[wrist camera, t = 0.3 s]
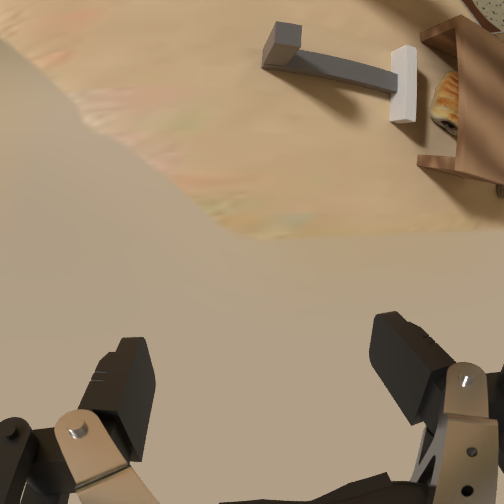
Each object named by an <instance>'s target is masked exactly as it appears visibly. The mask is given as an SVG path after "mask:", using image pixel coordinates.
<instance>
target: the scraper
mask: <svg viewBox="0 0 504 504" xmlns="http://www.w3.org/2000/svg"><path fill="white" fill-rule="evenodd" d="M301 33H302V26H301V25H296V24H290V23H284V22H277V21H276V23H275V25H274V27H273V29H272V31H271V33H270V36H269V38H268V40H267V42H266V44H265V46H264V49H263V56H262V67H261V68H263V69H271V70H279V71H286V72H293V73H299V74H305V75H311V76H316V77H322V78H327V79H332V80H336V81H341V82H346V83H350V84H354V85H358V86H362V87H366V88H370V89H374V90H378V91H382V92H385V93H389V94H391V97H390V117H389V121H390V122H394V123H398V124H401V123H410V122H416V101H417V50H416V48H415V47H412V46H410V45H407V44H406V45H404V46H402V47H400V48H398V49H396V50H394V51H392V52H391V72H390V71H386V70H383V69H380V68H376V67H373V66H369V65H366V64H362V63H358V62H354V61H350V60H346V59H342V58H338V57H333V56H329V55H324V54H319V53H314V52H309V51H303V50H299V48H300V47H301Z"/></svg>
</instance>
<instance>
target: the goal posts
mask: <svg viewBox="0 0 504 504" xmlns="http://www.w3.org/2000/svg"><path fill="white" fill-rule="evenodd" d="M496 192H497V195H498V196H499V197H500V198H504V185H499V184H497V187H496Z"/></svg>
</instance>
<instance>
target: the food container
mask: <svg viewBox="0 0 504 504" xmlns="http://www.w3.org/2000/svg"><path fill="white" fill-rule="evenodd" d="M460 1H461V2H462V3H463V4H464V6H465V7H466V8H467V10H468V11H469V12H470V14H471V15H472V16H473V18H474V19H475V21H476V22H477V23H478V25H479V26H481V27H482V28H484V29H485V30H487V31H488V32H490V33H492V34H498V33H504V0H460Z"/></svg>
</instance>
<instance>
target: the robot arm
mask: <svg viewBox="0 0 504 504" xmlns="http://www.w3.org/2000/svg"><path fill="white" fill-rule="evenodd" d="M369 357H370V362H371V365H372V366H373V368H374V369H375V371H376V373H377V374H378V376H379V377H380V378H381V380H382V381H383V383H384V385H385V386H386V388H387V389H388V391H389V392H390V394H391V395H392V397H393V398H394V400H395V401H396V403H397V404H398V406H399V407H400V409H401V411H402V412H403V414H404V415H405V417H406V418H407V420H408V421H409V423H410V424H411V426H412V425H415V424H417V423H420V422H423V421H424V423H425V424H426V426H425V428H424V431H423V435H422V439H421V444H420V448H419V453H418V457H417V461H416V464H415V468H414V472H413V474H412V477H411V480H410V481H391V480H390V478H389V476H388V474H387V472H385V473H382V474H379V475H376V476H372V477H369V478H366V479H362V480H359V481H355V482H351V483H348V484H347V485H345V486H342V487H340V488H338V489H336V490H334V491H332V492H330V493H328V494H326V495H323V496H321V497H319V498H317V499H314V500H312V501H305V502H304V501H280V500H264V499H261V500H252V501H239V502H226V503H225V502H224V503H219V504H495V501H496V491H497V478H498V465H499V467H500V468H501V470H502V471H503V473H504V365H503V367H502V370H501V372H496V373H488V374H485V373H484V371H483V370H482V369H481V368H480V367H478V366H477V365H474V364H472V363H467V362H459V363H456V362H455V361H454V360H453V359H452V358H451V357H450V356H449V355H448V354H447V353H446V352H445V351H444V350H443V349H442V348H441V347H440V346H439V345H438V344H437V343H435V341H434V340H433V339H432V338H431V337H429V335H428V334H427V333H426V332H425V331H424V330H423V329H422V328H421V327H419V326H417V325H415V324H413V323H411V322H407V321H406V320H405V319H404V318H403V317H402V316H401V315H400V314H399V313H398V312H396V311H393V312H387V313H382V314H377V315H376V316H375V318H374V323H373V330H372V336H371V343H370V348H369ZM155 384H156V383H155V374H154V370H153V367H152V363H151V359H150V355H149V351H148V347H147V344H146V341H145V339H144V337H131V338H122V339H121V341H120V343H119V345H118V348H117V350H116V352H109V353H108V354H107V355H105V356H104V357H103V358H102V359H101V360H100V361H99V363H98V365H97V367H96V370H95V373H94V374H93V376H92V378H91V381H90V382H89V385H88V387H87V389H86V391H85V393H84V396H83V398H82V400H81V402H80V405H79V407H78V409H77V410H74V411H70V412H68V413H66V414H64V415H63V416H62V417H60V418H59V420H58V421H57V423H56V425H55V427H53V428H46V429H37V430H32V429H31V427H30V426H29V424H28V423H27V422H26V421H25V420H24V419H22V418H19V417H12V418H8V419H5V420H3V421H2V422H0V504H68V498H69V494H70V493H77V495H78V497H79V499H80V501H81V503H82V504H160V503H159V502H158V501H157V499H156V498H155V497H154V496H153V495H152V493H151V492H150V491H149V489H148V488H147V487H146V485H145V484H144V483H143V481H142V480H141V479H140V477H139V476H138V475H137V473H136V472H135V471H134V470H133V468H132V467H131V465H130V464H129V463H130V461H134V462H142V457H143V451H144V445H145V440H146V434H147V429H148V423H149V418H150V413H151V408H152V403H153V398H154V393H155V386H156V385H155ZM25 483H27V484H26V487H25V490H24V493H23V497H22V500H21V503H20V499H21V495H22V492H23V489H24V486H25Z"/></svg>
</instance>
